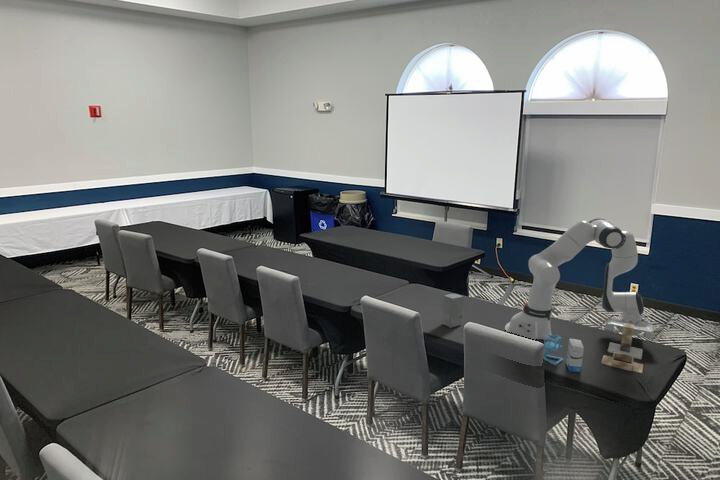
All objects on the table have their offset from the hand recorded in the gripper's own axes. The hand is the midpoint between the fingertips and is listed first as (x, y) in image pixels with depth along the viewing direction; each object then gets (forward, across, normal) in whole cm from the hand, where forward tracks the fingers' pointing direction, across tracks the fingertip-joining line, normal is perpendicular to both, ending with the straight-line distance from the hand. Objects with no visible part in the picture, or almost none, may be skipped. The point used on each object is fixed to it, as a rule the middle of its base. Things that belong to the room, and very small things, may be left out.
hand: (627, 334), depth 242 cm
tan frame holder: (+14, 0, +9) cm, 17 cm away
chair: (+27, -28, +9) cm, 40 cm away
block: (-1, 0, +8) cm, 8 cm away
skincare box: (+14, -80, +9) cm, 82 cm away
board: (-1, 0, +9) cm, 9 cm away
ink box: (+29, -18, +9) cm, 35 cm away
